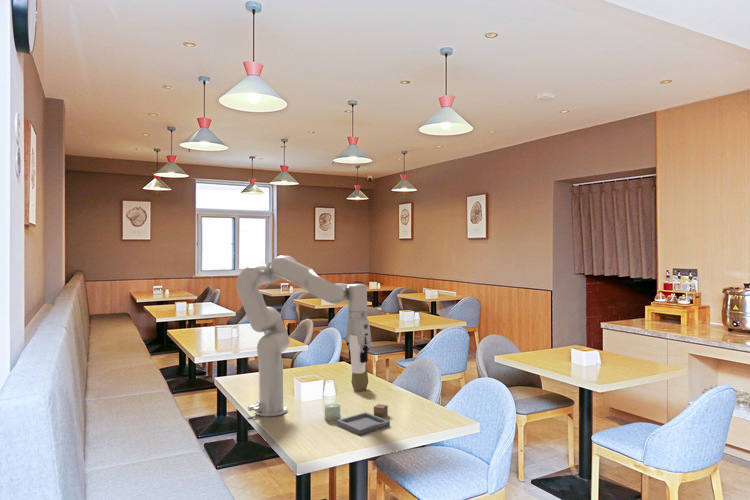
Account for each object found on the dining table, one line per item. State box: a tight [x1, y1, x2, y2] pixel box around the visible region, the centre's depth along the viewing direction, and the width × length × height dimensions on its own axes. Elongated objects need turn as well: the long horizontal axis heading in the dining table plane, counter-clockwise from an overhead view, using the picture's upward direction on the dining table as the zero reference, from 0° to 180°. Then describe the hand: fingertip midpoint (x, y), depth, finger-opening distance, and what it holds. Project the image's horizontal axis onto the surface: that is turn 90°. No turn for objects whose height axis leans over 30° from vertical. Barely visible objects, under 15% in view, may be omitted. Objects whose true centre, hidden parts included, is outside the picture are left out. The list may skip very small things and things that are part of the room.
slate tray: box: [336, 412, 391, 436], centre depth 186 cm, size 14×14×2 cm
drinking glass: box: [349, 335, 366, 374], centre depth 198 cm, size 7×7×15 cm
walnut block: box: [373, 403, 389, 419], centre depth 197 cm, size 4×4×4 cm
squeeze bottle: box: [350, 362, 369, 392], centre depth 235 cm, size 8×8×18 cm
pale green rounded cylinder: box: [324, 403, 341, 422], centre depth 194 cm, size 6×6×5 cm
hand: (358, 360), depth 198 cm, fingers closed on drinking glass, 6 cm apart
